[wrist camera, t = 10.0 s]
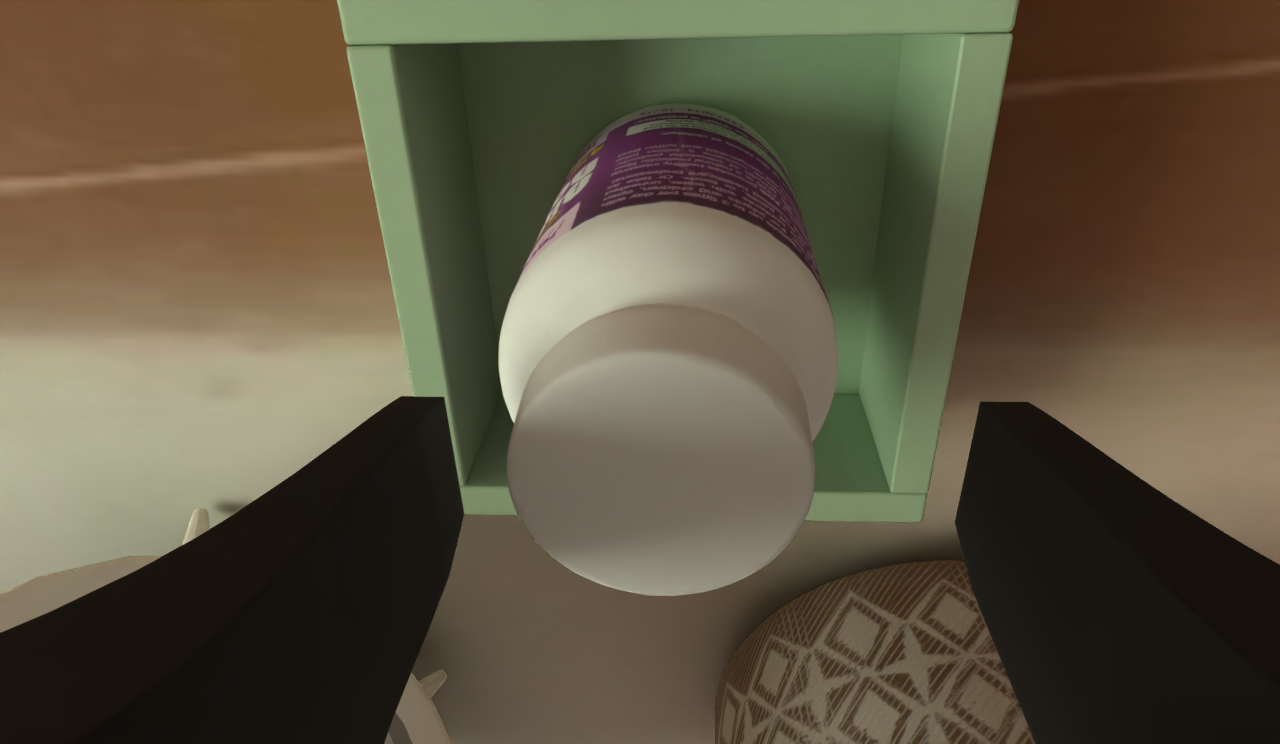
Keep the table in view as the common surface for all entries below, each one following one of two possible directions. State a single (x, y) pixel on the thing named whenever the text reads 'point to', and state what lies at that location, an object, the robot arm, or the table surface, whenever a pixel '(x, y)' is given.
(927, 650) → the planter
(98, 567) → the alarm clock
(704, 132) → the pill bottle
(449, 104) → the bin
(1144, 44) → the table surface
